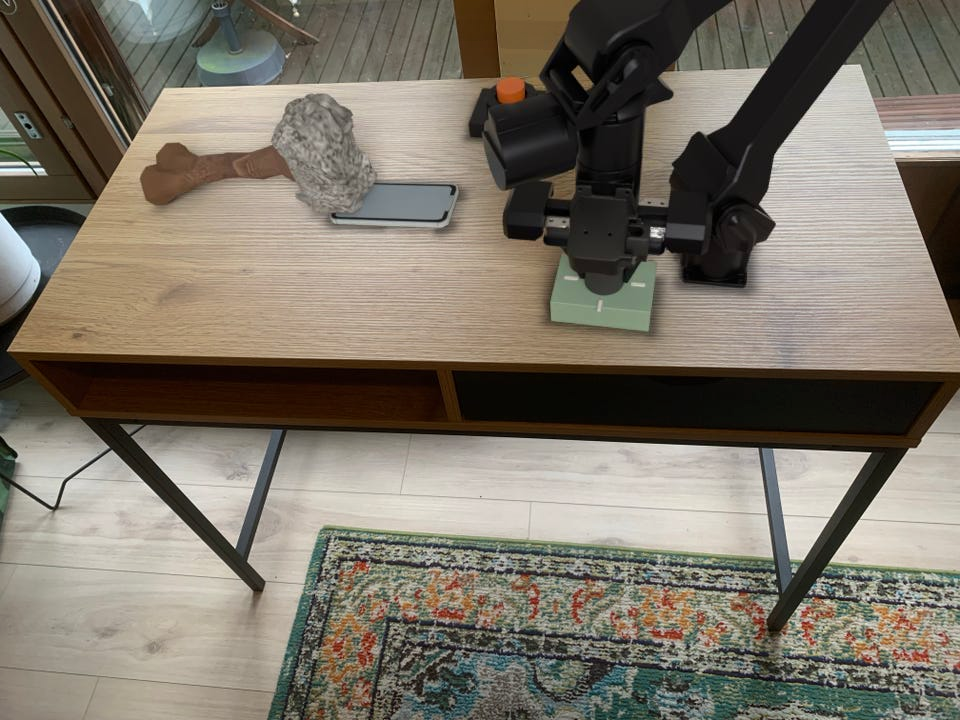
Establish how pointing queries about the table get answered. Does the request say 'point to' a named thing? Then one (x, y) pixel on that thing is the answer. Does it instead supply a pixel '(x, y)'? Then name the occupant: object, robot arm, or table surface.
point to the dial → (604, 283)
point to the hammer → (280, 160)
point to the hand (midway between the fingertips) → (604, 278)
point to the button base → (489, 100)
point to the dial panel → (604, 299)
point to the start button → (510, 90)
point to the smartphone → (404, 205)
